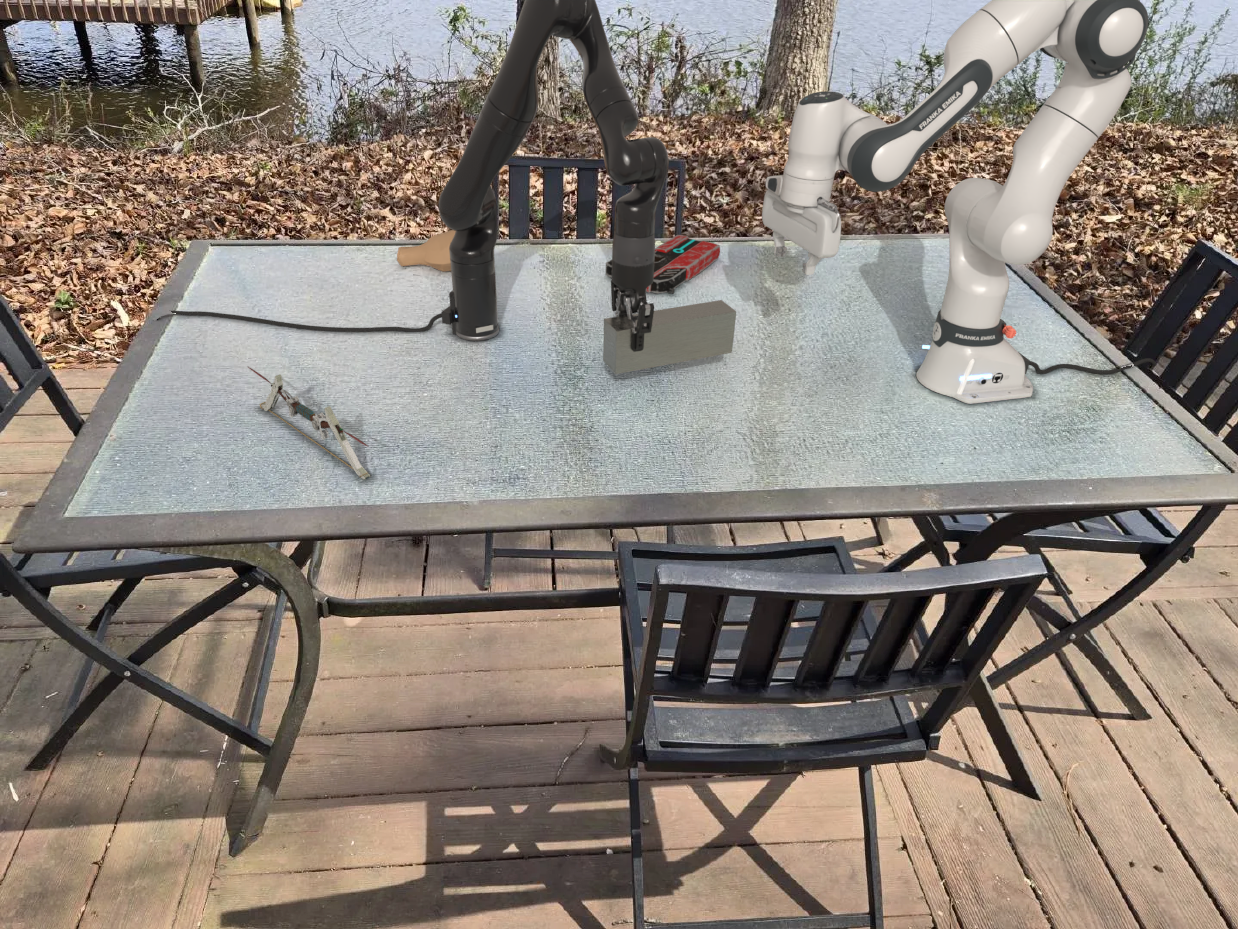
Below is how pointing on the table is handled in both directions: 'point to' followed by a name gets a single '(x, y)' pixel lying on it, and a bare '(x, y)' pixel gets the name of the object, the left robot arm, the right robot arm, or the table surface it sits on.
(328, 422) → the bow
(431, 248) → the squash
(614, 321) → the bar
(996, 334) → the right robot arm
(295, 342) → the table surface
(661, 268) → the gun
